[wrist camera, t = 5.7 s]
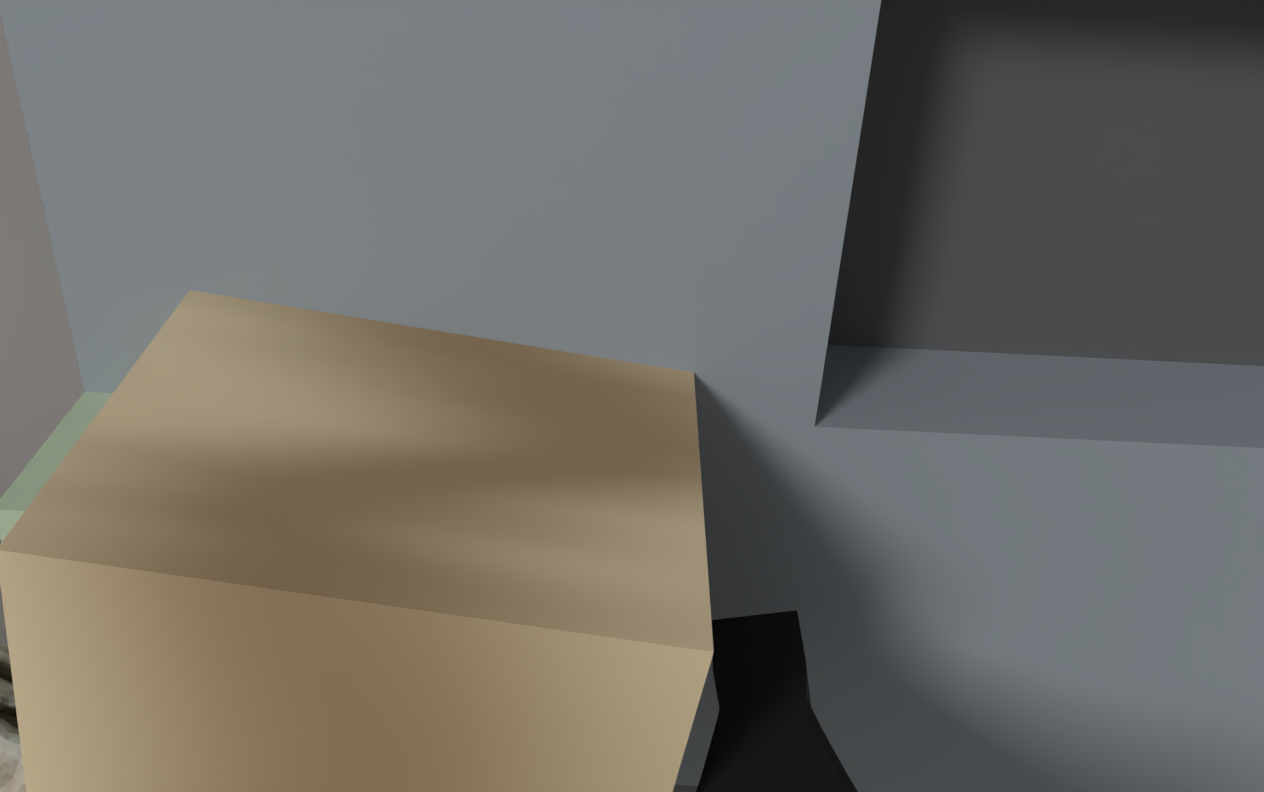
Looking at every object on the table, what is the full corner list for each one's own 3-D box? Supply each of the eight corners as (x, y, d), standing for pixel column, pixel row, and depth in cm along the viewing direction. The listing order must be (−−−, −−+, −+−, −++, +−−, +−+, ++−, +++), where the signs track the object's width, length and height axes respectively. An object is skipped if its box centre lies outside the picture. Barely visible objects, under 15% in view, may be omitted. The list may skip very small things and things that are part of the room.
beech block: (693, 372, 12) (714, 652, 8) (609, 720, 14) (598, 1040, 11) (189, 291, 11) (-4, 548, 8) (194, 662, 14) (49, 980, 11)
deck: (1637, -108, 11) (2066, -16, 8) (1163, 925, 20) (1272, 1188, 16) (64, -198, 11) (-196, -143, 8) (258, 889, 19) (176, 1148, 16)
